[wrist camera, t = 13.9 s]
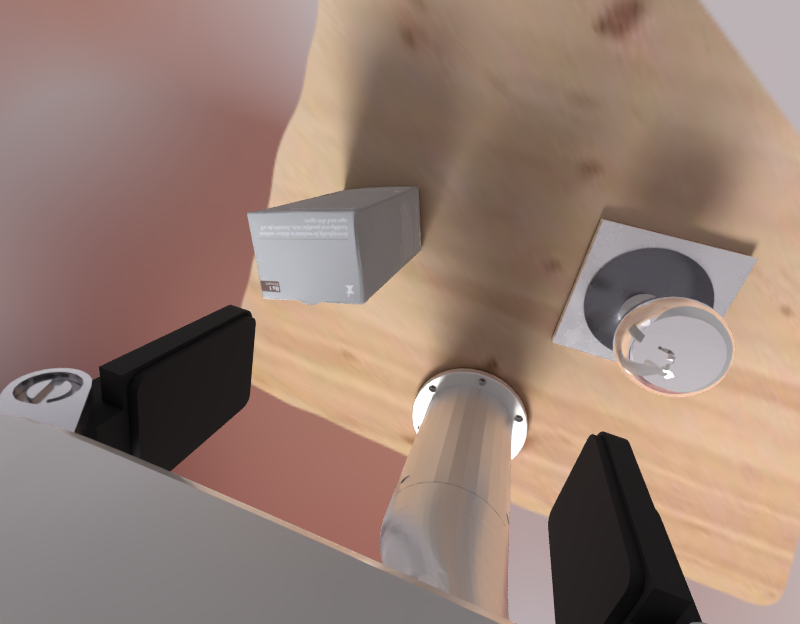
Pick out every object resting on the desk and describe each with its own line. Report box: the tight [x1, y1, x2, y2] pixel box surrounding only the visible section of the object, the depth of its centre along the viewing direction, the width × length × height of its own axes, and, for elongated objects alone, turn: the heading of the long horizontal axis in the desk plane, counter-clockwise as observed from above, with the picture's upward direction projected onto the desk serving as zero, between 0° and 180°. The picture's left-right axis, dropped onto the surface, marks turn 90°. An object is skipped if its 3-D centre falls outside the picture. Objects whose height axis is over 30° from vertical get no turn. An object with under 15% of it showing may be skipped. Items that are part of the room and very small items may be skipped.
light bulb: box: [613, 294, 735, 397], centre depth 30 cm, size 7×7×12 cm
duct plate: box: [552, 218, 758, 362], centre depth 36 cm, size 12×12×1 cm
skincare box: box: [248, 186, 421, 305], centre depth 34 cm, size 8×7×16 cm
